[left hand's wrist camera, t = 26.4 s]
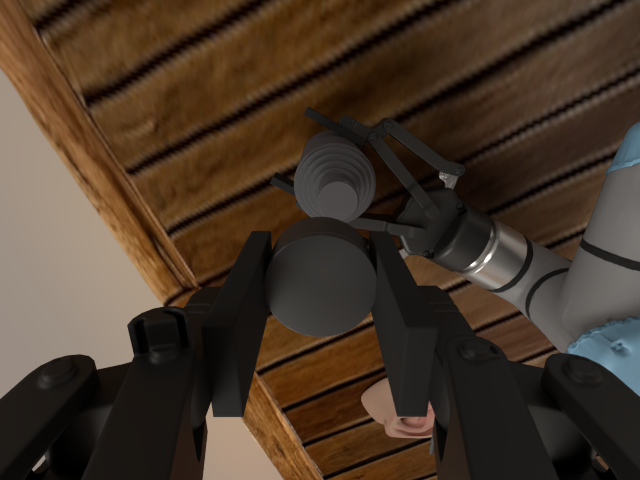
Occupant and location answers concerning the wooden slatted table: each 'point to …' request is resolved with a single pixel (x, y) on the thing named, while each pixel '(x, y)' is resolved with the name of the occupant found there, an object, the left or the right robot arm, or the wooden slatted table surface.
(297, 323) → the cap
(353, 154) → the bottle
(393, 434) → the anatomical model
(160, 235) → the wooden slatted table surface
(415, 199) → the right robot arm
